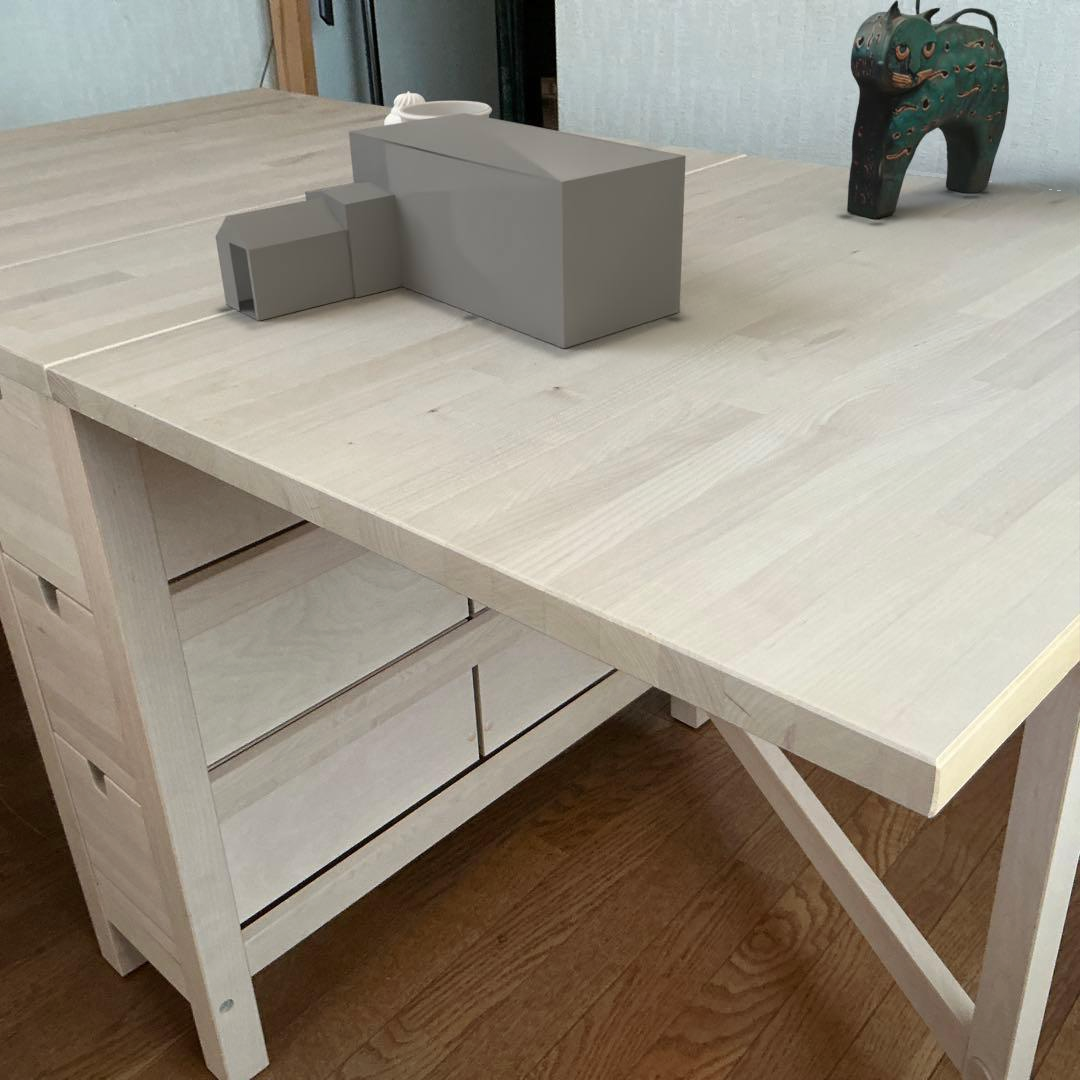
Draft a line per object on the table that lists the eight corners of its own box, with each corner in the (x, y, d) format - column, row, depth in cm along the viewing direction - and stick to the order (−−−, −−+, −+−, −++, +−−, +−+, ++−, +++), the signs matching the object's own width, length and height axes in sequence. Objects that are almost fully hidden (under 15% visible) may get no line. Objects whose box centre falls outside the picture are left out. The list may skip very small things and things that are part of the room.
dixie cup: (462, 237, 102) (455, 118, 98) (388, 226, 106) (378, 112, 101) (513, 216, 109) (509, 103, 104) (441, 206, 112) (434, 98, 108)
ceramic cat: (872, 225, 103) (902, -25, 93) (817, 212, 107) (839, -28, 98) (1007, 191, 113) (1046, -38, 103) (951, 180, 118) (983, -40, 108)
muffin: (391, 149, 138) (386, 87, 134) (442, 149, 137) (438, 86, 134) (383, 160, 132) (377, 95, 129) (436, 159, 132) (432, 94, 128)
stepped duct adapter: (224, 303, 87) (200, 154, 82) (470, 245, 100) (463, 112, 95) (412, 396, 70) (397, 216, 65) (679, 311, 83) (685, 155, 78)
